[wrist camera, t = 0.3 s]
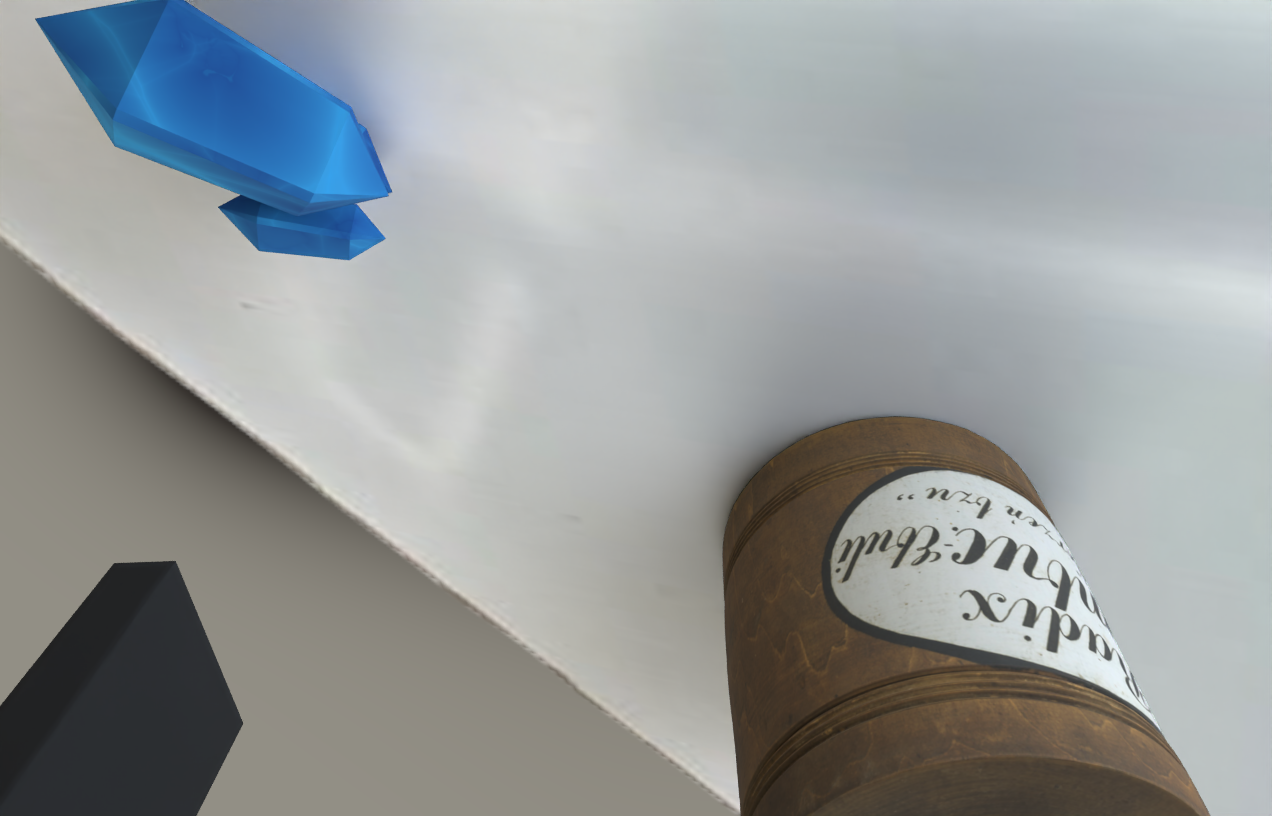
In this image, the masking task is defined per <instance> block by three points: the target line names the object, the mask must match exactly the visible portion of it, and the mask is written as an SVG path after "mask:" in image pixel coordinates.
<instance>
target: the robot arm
mask: <svg viewBox="0 0 1272 816" xmlns="http://www.w3.org/2000/svg"><path fill="white" fill-rule="evenodd" d="M242 725H243V722H242V719H241V717H240V714H239V712H238V710H237V707H236V705H235V702H234V700H233V698H232V695H231V693H230V690H229V688H228V686H227V683H226V681H225V678H224V676H223V674H222V671H221V669H220V666H219V664H218V662H217V659H216V657H215V655H214V652H213V650H212V647H211V645H210V643H209V640H208V638H207V635H206V633H205V630H204V628H203V626H202V623H201V621H200V619H199V616H198V614H197V611H196V609H195V606H194V604H193V602H192V599H191V597H190V594H189V592H188V590H187V587H186V585H185V582H184V580H183V578H182V575H181V573H180V570H179V568H178V566H177V564H176V561H163V562H137V563H136V562H135V563H114V564H113V565H112V567H111V568H110V569H109V570H108V572H107V573H106V574H105V575H104V577H103V578H102V579H101V580H100V582H99V583H98V584H97V585H96V587H95V588H94V589H93V590H92V592H91V593H90V594H89V596H88V597H87V598H86V599H85V600H84V602H83V603H82V604H81V606H80V607H79V608H78V609H77V611H76V612H75V613H74V614H73V615H72V617H71V618H70V619H69V620H68V622H67V623H66V624H65V626H64V627H63V628H62V629H61V631H60V632H59V633H58V634H57V636H56V637H55V638H54V639H53V641H52V642H51V643H50V644H49V646H48V647H47V648H46V649H45V651H44V652H43V653H42V654H41V656H40V657H39V658H38V659H37V661H36V662H35V663H34V664H33V666H32V667H31V668H30V669H29V671H28V672H27V673H26V674H25V676H24V677H23V678H22V679H21V681H20V682H19V683H18V685H17V686H16V687H15V688H14V690H13V691H12V692H11V693H10V694H9V696H8V697H7V698H6V700H5V701H4V702H3V703H2V705H1V706H0V816H196V815H197V813H198V811H199V809H200V807H201V806H202V804H203V802H204V800H205V798H206V796H207V794H208V792H209V790H210V788H211V786H212V784H213V782H214V780H215V778H216V776H217V774H218V772H219V770H220V768H221V766H222V764H223V762H224V760H225V758H226V756H227V754H228V752H229V750H230V748H231V746H232V745H233V743H234V741H235V738H236V736H237V735H238V733H239V730H240V729H241V727H242Z"/></svg>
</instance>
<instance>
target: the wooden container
mask: <svg viewBox="0 0 1272 816" xmlns="http://www.w3.org/2000/svg"><path fill="white" fill-rule="evenodd" d="M723 583H724V601H725V639H726V655H727V673H728V685H729V696H730V705H731V714H732V722H733V732H734V741H735V752H736V763H737V775H738V787H739V798H740V811H741V816H1210V814H1209V812H1208V810H1207V808H1206V806H1205V804H1204V802H1203V800H1202V799H1201V797H1200V795H1199V793H1198V791H1197V789H1196V787H1195V786H1194V784H1193V782H1192V780H1191V778H1190V777H1189V775H1188V773H1187V771H1186V770H1185V768H1184V767H1183V765H1182V763H1181V761H1180V760H1179V758H1178V757H1177V755H1176V754H1175V752H1174V750H1173V749H1172V748H1171V747H1170V745H1169V744H1168V743H1167V741H1166V739H1165V738H1164V735H1163V733H1162V731H1161V729H1160V727H1159V725H1158V723H1157V722H1156V720H1155V718H1154V716H1153V714H1152V712H1151V710H1150V708H1149V706H1148V704H1147V702H1146V700H1145V698H1144V696H1143V694H1142V692H1141V690H1140V688H1139V686H1138V685H1137V683H1136V681H1135V679H1134V677H1133V675H1132V673H1131V671H1130V669H1129V667H1128V665H1127V663H1126V661H1125V659H1124V657H1123V655H1122V653H1121V651H1120V649H1119V647H1118V645H1117V643H1116V641H1115V639H1114V637H1113V635H1112V632H1111V630H1110V628H1109V626H1108V624H1107V622H1106V620H1105V618H1104V616H1103V613H1102V611H1101V610H1100V608H1099V606H1098V604H1097V602H1096V600H1095V598H1094V596H1093V594H1092V592H1091V590H1090V588H1089V586H1088V584H1087V582H1086V580H1085V578H1084V576H1083V574H1082V572H1081V570H1080V569H1079V567H1078V565H1077V563H1076V561H1075V560H1074V558H1073V556H1072V554H1071V552H1070V550H1069V549H1068V547H1067V545H1066V543H1065V541H1064V540H1063V538H1062V536H1061V535H1060V533H1059V532H1058V531H1057V529H1056V527H1055V525H1054V523H1053V521H1052V519H1051V517H1050V516H1049V514H1048V512H1047V510H1046V508H1045V507H1044V505H1043V503H1042V501H1041V499H1040V498H1039V496H1038V494H1037V492H1036V491H1035V489H1034V487H1033V485H1032V484H1031V482H1030V481H1029V479H1028V478H1027V476H1026V475H1025V473H1024V472H1023V471H1022V469H1021V468H1020V467H1019V466H1018V465H1017V463H1016V462H1015V461H1014V460H1013V459H1012V458H1010V457H1009V456H1008V455H1007V454H1006V453H1005V452H1003V451H1002V450H1001V449H1000V448H999V447H997V446H996V445H995V444H993V443H991V442H990V441H988V440H986V439H985V438H983V437H981V436H979V435H977V434H975V433H973V432H971V431H969V430H967V429H964V428H961V427H958V426H955V425H952V424H947V423H943V422H938V421H933V420H928V419H922V418H912V417H881V418H872V419H863V420H858V421H852V422H848V423H844V424H841V425H837V426H834V427H831V428H828V429H825V430H822V431H820V432H817V433H815V434H812V435H810V436H808V437H806V438H804V439H802V440H800V441H798V442H797V443H795V444H793V445H792V446H790V447H789V448H787V449H786V450H784V451H783V452H781V453H780V454H779V455H777V456H775V457H774V458H773V459H772V460H770V461H769V462H768V463H767V464H766V465H765V466H764V467H763V468H762V469H761V470H760V471H759V472H758V473H757V474H756V475H755V476H754V477H753V478H752V479H751V480H750V482H749V483H748V485H747V486H746V487H745V488H744V490H743V491H742V492H741V494H740V496H739V498H738V499H737V501H736V502H735V504H734V506H733V509H732V511H731V513H730V516H729V519H728V522H727V525H726V530H725V534H724V541H723Z"/></svg>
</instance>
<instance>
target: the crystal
mask: <svg viewBox="0 0 1272 816" xmlns="http://www.w3.org/2000/svg"><path fill="white" fill-rule="evenodd" d="M35 20H36V21H37V23H38V24H39V26H40V28H41V29H42V31H43V32H44V34H45V36H46V37H47V39H48V40H49V42H50V44H51V45H52V47H53V48H54V50H55V52H56V53H57V55H58V56H59V58H60V60H61V61H62V63H63V64H64V66H65V68H66V69H67V71H68V72H69V74H70V76H71V77H72V79H73V80H74V82H75V84H76V85H77V87H78V88H79V90H80V92H81V93H82V95H83V96H84V98H85V100H86V101H87V103H88V104H89V106H90V108H91V109H92V111H93V112H94V114H95V116H96V117H97V119H98V120H99V122H100V124H101V125H102V127H103V128H104V130H105V132H106V133H107V135H108V136H109V138H110V140H111V141H112V143H113V144H114V146H116V147H118V148H121V149H123V150H126V151H129V152H131V153H134V154H136V155H139V156H142V157H144V158H147V159H149V160H152V161H155V162H157V163H160V164H162V165H165V166H168V167H170V168H173V169H175V170H178V171H181V172H183V173H186V174H188V175H191V176H194V177H196V178H199V179H201V180H204V181H207V182H209V183H212V184H214V185H217V186H220V187H222V188H225V189H227V190H230V191H233V192H235V193H238V194H240V196H238V197H236V198H234V199H232V200H230V201H228V202H227V203H225V204H223V205H221V206H219V207H218V208H219V209H220V210H221V211H222V212H223V213H224V214H225V215H226V216H227V217H228V219H229V220H230V221H231V222H232V223H233V224H234V225H235V226H236V227H237V228H238V229H239V230H240V231H241V232H242V233H243V234H244V235H245V237H246V238H247V239H248V240H249V241H250V242H251V243H252V244H253V245H254V246H255V247H256V248H257V249H258V250H259V251H265V252H274V253H284V254H294V255H304V256H313V257H323V258H333V259H343V260H350V259H352V258H354V257H355V256H357V255H359V254H360V253H362V252H364V251H366V250H367V249H369V248H371V247H372V246H374V245H376V244H377V243H379V242H381V241H383V240H384V239H386V238H385V237H384V236H383V235H382V234H381V232H380V231H379V230H378V229H377V228H376V226H375V225H374V224H373V223H372V222H371V221H370V219H369V218H368V217H367V216H366V215H365V213H364V212H363V211H362V210H361V209H360V207H359V206H358V205H357V204H355V203H359V202H364V201H368V200H373V199H377V198H382V197H387V196H389V195H388V193H391V192H392V190H391V188H390V185H389V183H388V181H387V178H386V176H385V173H384V171H383V168H382V166H381V163H380V161H379V158H378V156H377V154H376V151H375V149H374V146H373V144H372V141H371V139H370V136H369V134H368V131H367V129H366V128H365V127H363V126H362V125H360V124H359V123H358V122H357V120H356V117H355V115H354V113H353V110H352V108H351V107H350V106H349V105H347V104H346V103H344V102H342V101H341V100H339V99H338V98H336V97H335V96H333V95H331V94H330V93H328V92H327V91H325V90H324V89H322V88H320V87H319V86H317V85H316V84H314V83H313V82H311V81H310V80H308V79H306V78H305V77H303V76H302V75H300V74H299V73H297V72H295V71H294V70H292V69H291V68H289V67H288V66H286V65H284V64H283V63H281V62H280V61H278V60H277V59H275V58H273V57H272V56H270V55H269V54H267V53H266V52H264V51H263V50H261V49H259V48H258V47H256V46H255V45H253V44H252V43H250V42H248V41H247V40H245V39H244V38H242V37H241V36H239V35H237V34H236V33H234V32H233V31H231V30H230V29H228V28H226V27H225V26H223V25H222V24H220V23H219V22H217V21H215V20H214V19H212V18H211V17H209V16H208V15H206V14H205V13H203V12H201V11H200V10H198V9H197V8H195V7H194V6H192V5H190V4H189V3H187V2H186V1H184V0H135V1H130V2H124V3H119V4H113V5H108V6H102V7H97V8H91V9H86V10H80V11H75V12H69V13H64V14H59V15H53V16H48V17H42V18H37V19H35Z"/></svg>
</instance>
